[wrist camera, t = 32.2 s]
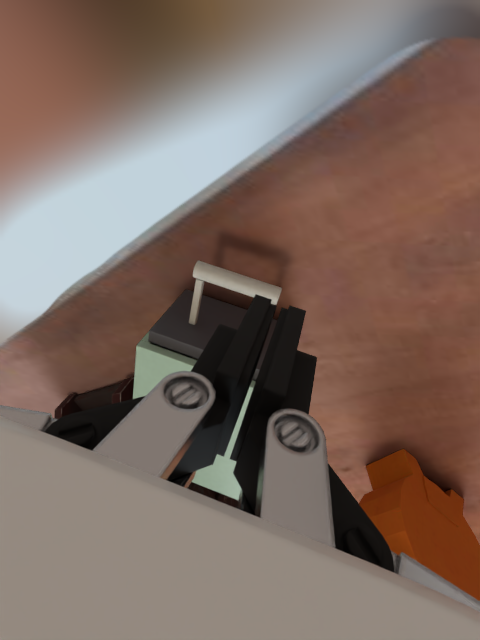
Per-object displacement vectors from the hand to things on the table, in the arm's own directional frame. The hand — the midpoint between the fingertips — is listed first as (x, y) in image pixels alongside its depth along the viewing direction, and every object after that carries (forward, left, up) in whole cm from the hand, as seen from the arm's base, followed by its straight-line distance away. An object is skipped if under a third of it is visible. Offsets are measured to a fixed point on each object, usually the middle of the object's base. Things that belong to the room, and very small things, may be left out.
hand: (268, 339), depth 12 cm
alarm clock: (+28, +21, -21) cm, 41 cm away
